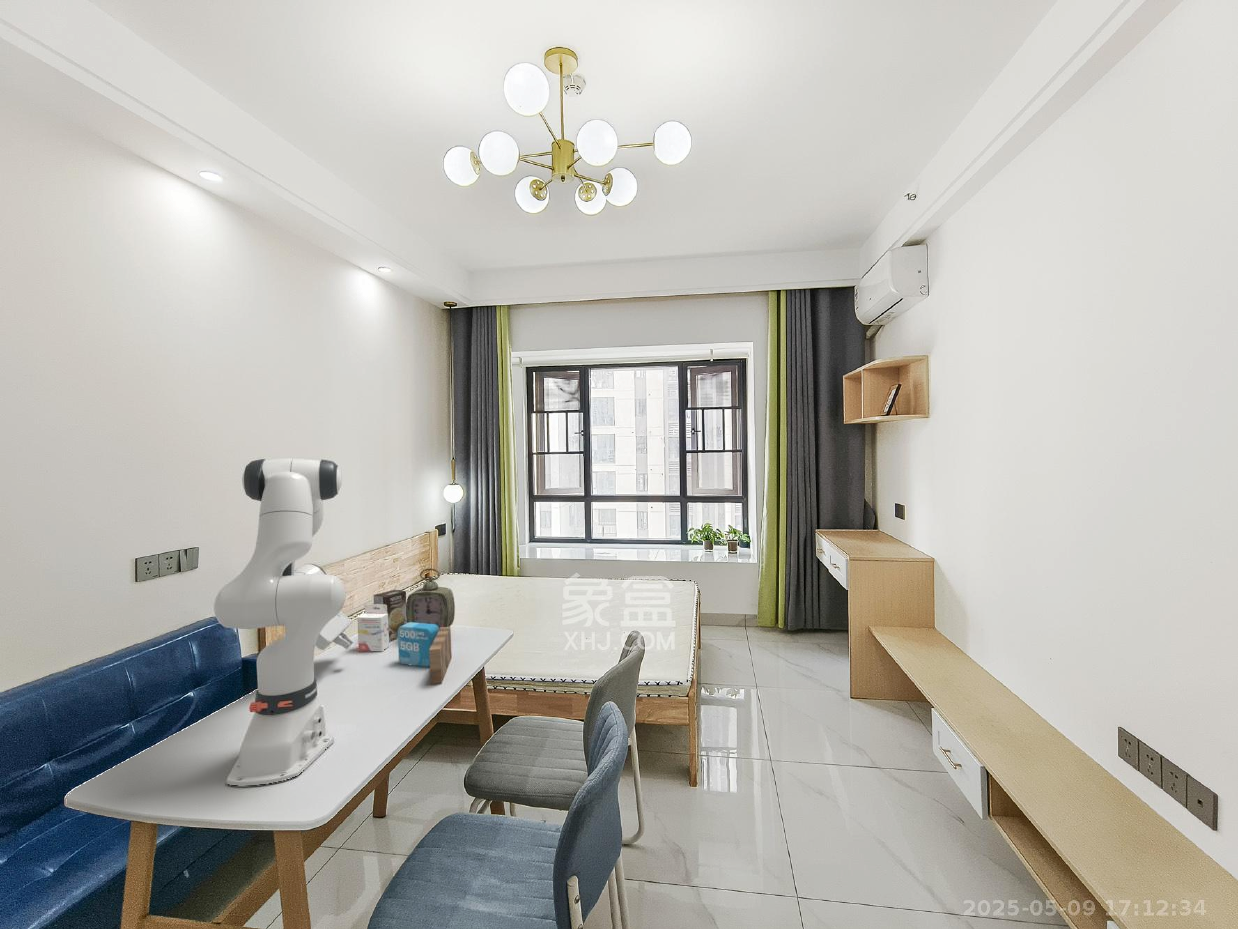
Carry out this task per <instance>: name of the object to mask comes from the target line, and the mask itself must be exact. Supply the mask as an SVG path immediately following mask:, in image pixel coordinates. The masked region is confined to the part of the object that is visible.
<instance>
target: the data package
mask: <svg viewBox="0 0 1238 929" xmlns="http://www.w3.org/2000/svg"><path fill="white" fill-rule="evenodd" d="M438 632H439V628H438V626H437V625H435V624H425V623H413V622H409V623H407V624H405V625H403V626H401V627H399V628H398V639H397V643H398V646H397V647H398V661H399V663H400V664H401V665H404V664H411V665H410V666H413V665H417V666H416V667H422V666H423V667H425V668H430V656H429V649H430V647H431V645H432V643H433V641H434V639H435V638H436V636H437V634H438Z"/></svg>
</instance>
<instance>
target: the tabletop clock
mask: <svg viewBox="0 0 1238 929" xmlns="http://www.w3.org/2000/svg"><path fill="white" fill-rule="evenodd" d="M427 571H434V572H436V573H437V574H438V576H437V577H435V578H433V577H432V576H431V575H430V576H428V578H427V577H426V578H425V577H423V576H422V575H423V573H424V572H427ZM419 576H420V578H421V579H422V580H425V581H426V582H424V584H423V586H422V587H420V588H418V589H416V590H415V591H413V592H411V593H410V594H408V595H407V597H406V617H407V623H409V622H413V623H425V624H435V625H437V626H438V628H439V630H440V628H441V627H450V628H451V626H452V625H453V624H454V620H455V614H456V613H455V611H456V605H455V597H454V593H453V590H452V589H451V588H449V587H443V586H439V584H438V583H437V582H435V581H436V580H438V579H439V578H440V576H441V572H440V571H439V570H437V569H436V568H432V567H430V568H425V569H423V570H422V571H421V572H420V574H419Z"/></svg>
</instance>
